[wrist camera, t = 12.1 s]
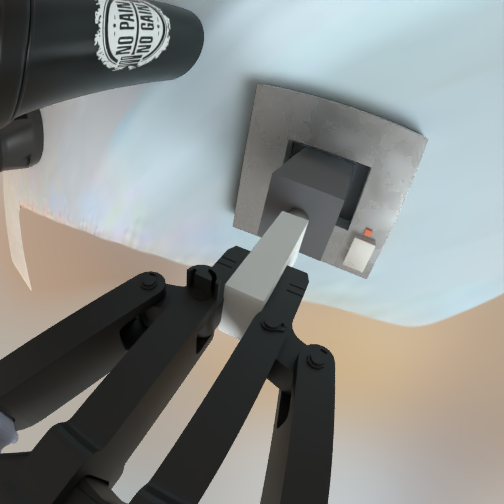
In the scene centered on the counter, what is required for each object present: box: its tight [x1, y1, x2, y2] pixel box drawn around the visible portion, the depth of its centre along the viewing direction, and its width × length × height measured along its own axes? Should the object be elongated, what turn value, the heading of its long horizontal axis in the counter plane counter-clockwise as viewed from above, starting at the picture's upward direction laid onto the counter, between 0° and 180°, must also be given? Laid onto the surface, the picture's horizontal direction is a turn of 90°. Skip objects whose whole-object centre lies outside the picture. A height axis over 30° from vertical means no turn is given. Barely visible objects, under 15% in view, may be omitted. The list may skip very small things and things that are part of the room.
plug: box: [257, 146, 355, 261], centre depth 20 cm, size 4×4×10 cm
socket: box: [233, 84, 428, 279], centre depth 23 cm, size 14×14×3 cm
